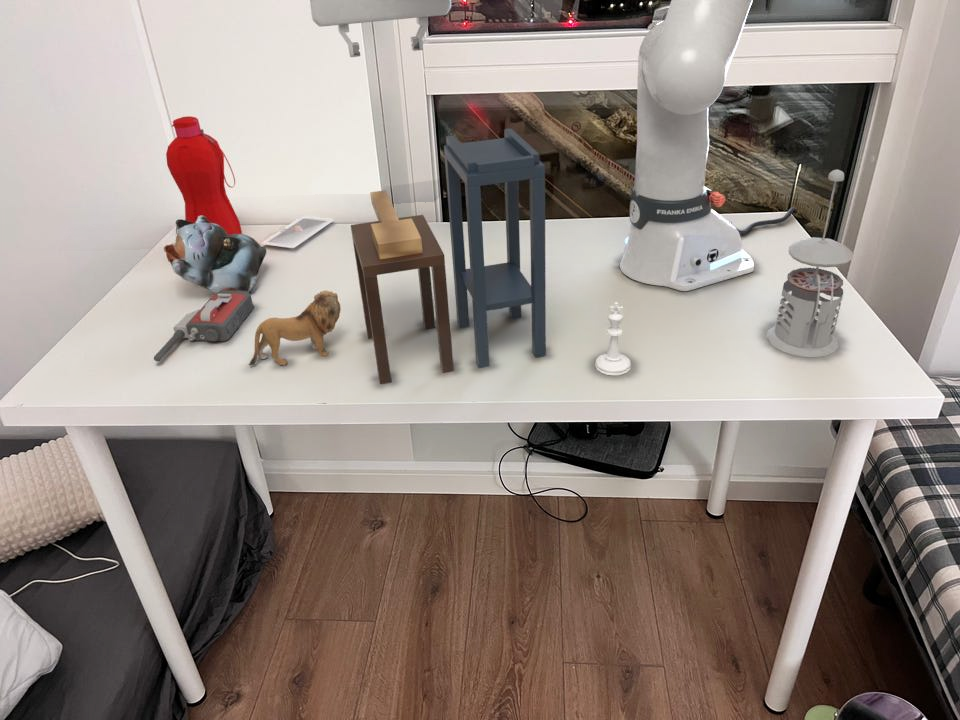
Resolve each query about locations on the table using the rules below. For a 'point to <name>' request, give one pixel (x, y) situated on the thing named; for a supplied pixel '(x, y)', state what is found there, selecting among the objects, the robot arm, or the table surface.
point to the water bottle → (201, 175)
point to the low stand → (431, 257)
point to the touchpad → (297, 231)
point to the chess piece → (613, 348)
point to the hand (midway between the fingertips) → (386, 53)
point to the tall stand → (505, 280)
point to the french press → (811, 295)
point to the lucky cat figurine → (214, 256)
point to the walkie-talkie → (212, 320)
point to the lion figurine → (299, 327)
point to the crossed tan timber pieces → (393, 230)
